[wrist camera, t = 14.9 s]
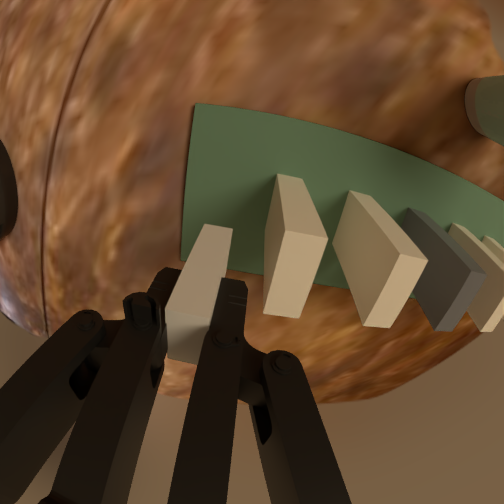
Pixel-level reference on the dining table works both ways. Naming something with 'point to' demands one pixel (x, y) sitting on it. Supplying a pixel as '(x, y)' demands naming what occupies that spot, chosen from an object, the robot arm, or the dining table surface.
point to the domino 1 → (291, 248)
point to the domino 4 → (494, 250)
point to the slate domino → (442, 272)
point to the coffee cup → (486, 106)
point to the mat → (312, 183)
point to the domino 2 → (376, 260)
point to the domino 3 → (493, 288)
